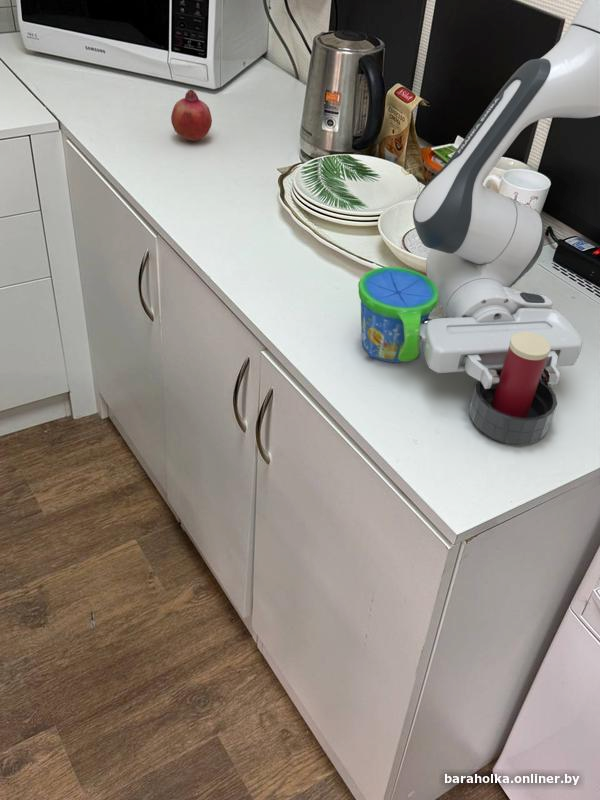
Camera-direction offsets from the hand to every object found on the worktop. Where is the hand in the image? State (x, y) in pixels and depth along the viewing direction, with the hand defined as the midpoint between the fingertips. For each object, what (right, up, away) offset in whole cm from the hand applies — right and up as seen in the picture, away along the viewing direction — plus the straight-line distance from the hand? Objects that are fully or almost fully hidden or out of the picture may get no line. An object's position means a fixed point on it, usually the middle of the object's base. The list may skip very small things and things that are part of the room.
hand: (523, 382), depth 98 cm
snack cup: (-15, +5, +15) cm, 22 cm away
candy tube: (-1, -4, +5) cm, 6 cm away
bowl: (-1, -5, +5) cm, 7 cm away
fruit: (-49, +50, +65) cm, 96 cm away
